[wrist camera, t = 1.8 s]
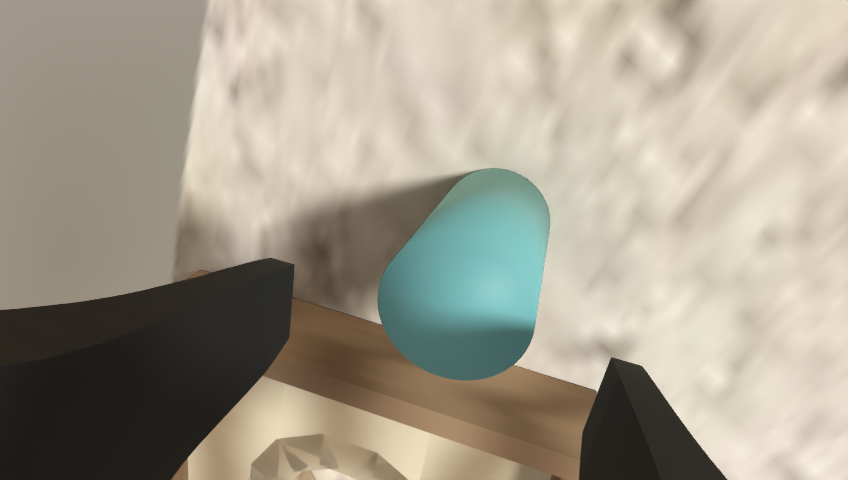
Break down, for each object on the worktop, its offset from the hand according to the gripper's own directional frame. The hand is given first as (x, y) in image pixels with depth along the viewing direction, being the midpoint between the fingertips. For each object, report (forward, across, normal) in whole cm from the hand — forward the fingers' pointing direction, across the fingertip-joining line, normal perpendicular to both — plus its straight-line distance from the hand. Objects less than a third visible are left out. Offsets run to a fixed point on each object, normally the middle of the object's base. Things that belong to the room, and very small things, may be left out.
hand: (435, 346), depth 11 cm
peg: (+9, 0, 0) cm, 9 cm away
